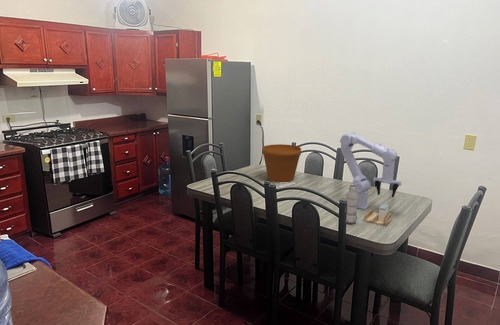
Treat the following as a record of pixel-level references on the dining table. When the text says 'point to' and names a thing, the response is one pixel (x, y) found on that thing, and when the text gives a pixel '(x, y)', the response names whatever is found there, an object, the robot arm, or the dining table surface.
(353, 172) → the robot arm
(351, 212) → the plastic bottle
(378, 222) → the rack
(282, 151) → the flowerpot
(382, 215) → the tall pale blue block
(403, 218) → the dining table surface
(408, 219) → the dining table surface
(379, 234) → the dining table surface
